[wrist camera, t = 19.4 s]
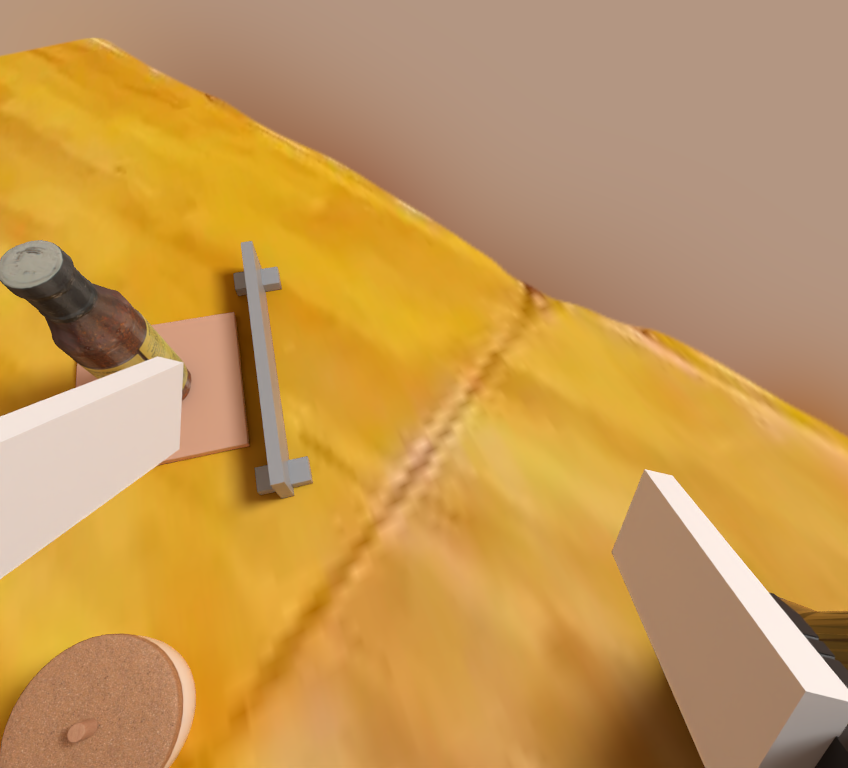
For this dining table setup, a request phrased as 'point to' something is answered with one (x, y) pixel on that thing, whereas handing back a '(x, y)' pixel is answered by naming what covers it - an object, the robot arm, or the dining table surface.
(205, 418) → the terracotta tile
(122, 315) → the sauce bottle
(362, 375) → the dining table surface
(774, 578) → the dining table surface
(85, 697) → the lidded jar
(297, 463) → the grey wall
